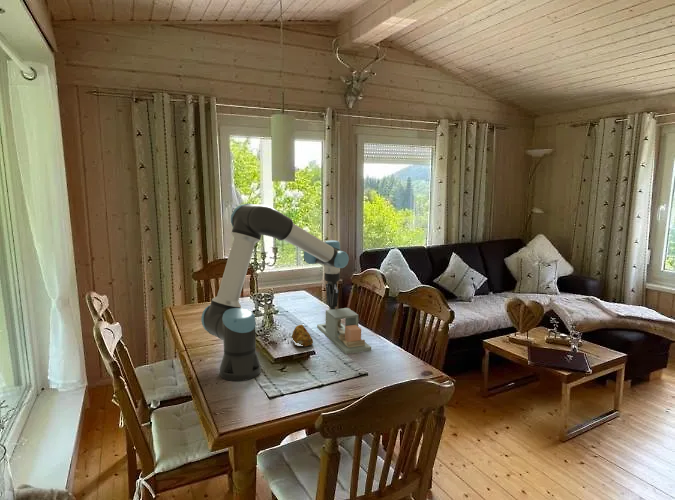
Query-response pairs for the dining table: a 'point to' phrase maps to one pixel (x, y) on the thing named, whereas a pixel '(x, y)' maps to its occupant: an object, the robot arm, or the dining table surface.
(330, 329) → the tunnel deck
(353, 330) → the block
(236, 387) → the dining table surface
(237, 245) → the robot arm
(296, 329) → the rock
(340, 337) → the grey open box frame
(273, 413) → the dining table surface
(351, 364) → the dining table surface
